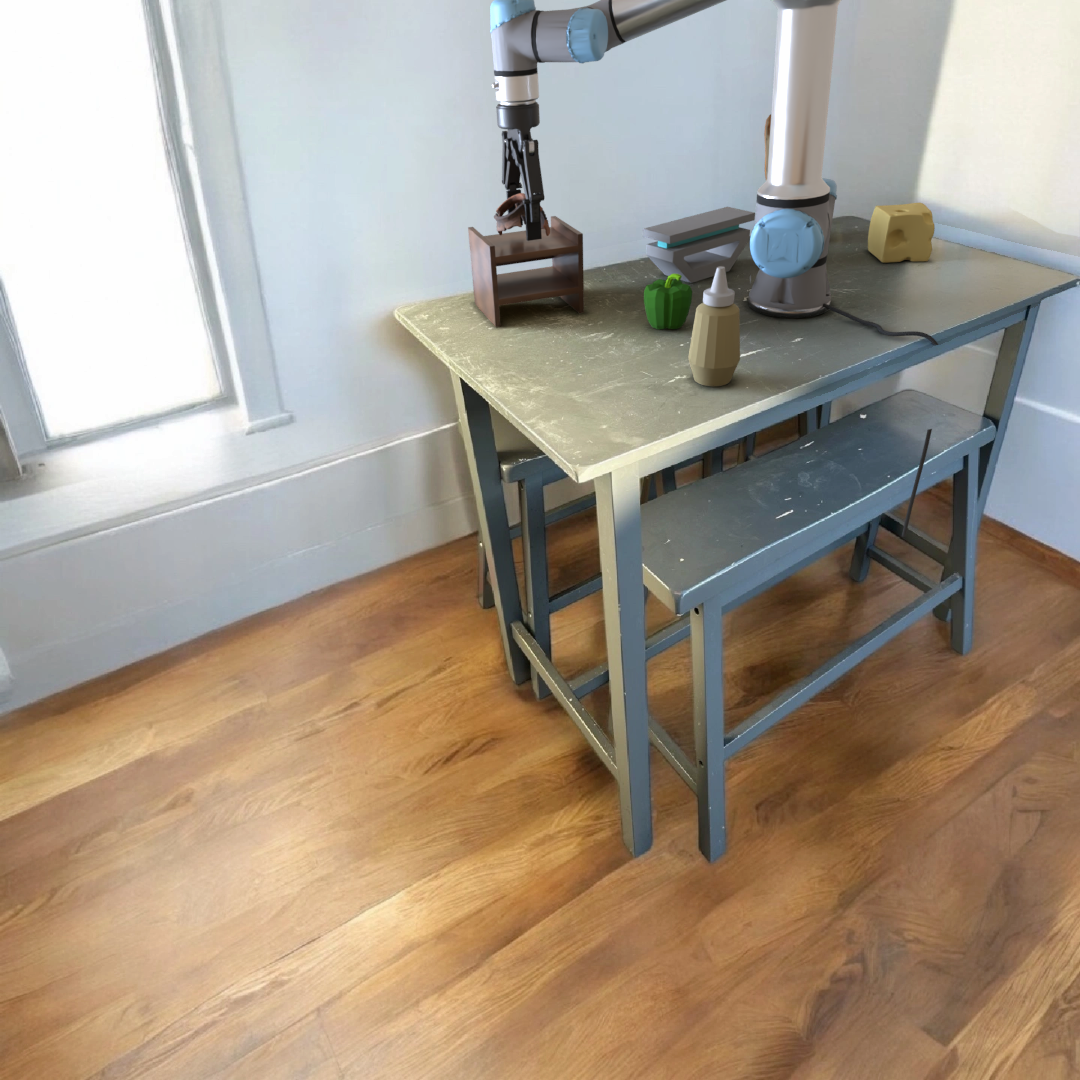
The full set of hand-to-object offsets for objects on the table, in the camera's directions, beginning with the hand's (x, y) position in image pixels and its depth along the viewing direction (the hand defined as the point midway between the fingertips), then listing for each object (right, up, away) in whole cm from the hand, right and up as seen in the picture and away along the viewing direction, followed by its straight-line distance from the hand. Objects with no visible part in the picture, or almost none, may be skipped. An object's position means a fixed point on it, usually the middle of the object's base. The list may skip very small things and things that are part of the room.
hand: (524, 232), depth 161 cm
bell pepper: (+26, -19, -3) cm, 32 cm away
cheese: (+81, +4, +26) cm, 85 cm away
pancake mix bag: (+60, +12, +39) cm, 72 cm away
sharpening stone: (+37, -1, +22) cm, 43 cm away
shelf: (+1, -12, +8) cm, 15 cm away
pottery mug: (0, 0, 0) cm, 0 cm away
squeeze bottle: (+31, -33, -24) cm, 51 cm away
